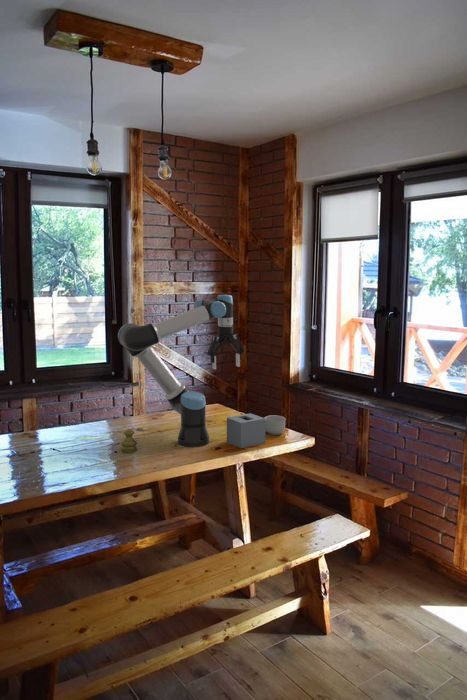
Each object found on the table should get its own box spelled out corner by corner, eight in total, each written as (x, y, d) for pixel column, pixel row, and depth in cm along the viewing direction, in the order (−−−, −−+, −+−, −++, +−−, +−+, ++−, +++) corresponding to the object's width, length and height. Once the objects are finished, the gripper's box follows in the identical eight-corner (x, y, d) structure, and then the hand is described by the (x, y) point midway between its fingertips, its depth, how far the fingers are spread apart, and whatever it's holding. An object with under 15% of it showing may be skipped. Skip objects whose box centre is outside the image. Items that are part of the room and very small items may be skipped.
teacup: (285, 430, 297) (285, 415, 296) (285, 436, 286) (285, 421, 285) (258, 429, 298) (258, 414, 297) (257, 435, 287) (257, 420, 286)
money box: (240, 448, 268) (241, 423, 266) (226, 441, 278) (226, 417, 276) (265, 443, 275) (265, 418, 274) (250, 437, 285) (250, 413, 284)
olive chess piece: (119, 449, 266) (119, 428, 264) (135, 447, 268) (135, 426, 267) (122, 454, 259) (121, 432, 257) (139, 452, 261) (138, 431, 260)
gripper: (206, 328, 281) (207, 371, 284) (250, 324, 293) (251, 366, 296) (199, 326, 287) (200, 369, 290) (243, 323, 299) (243, 364, 302)
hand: (226, 367), depth 293 cm, fingers open, 13 cm apart
